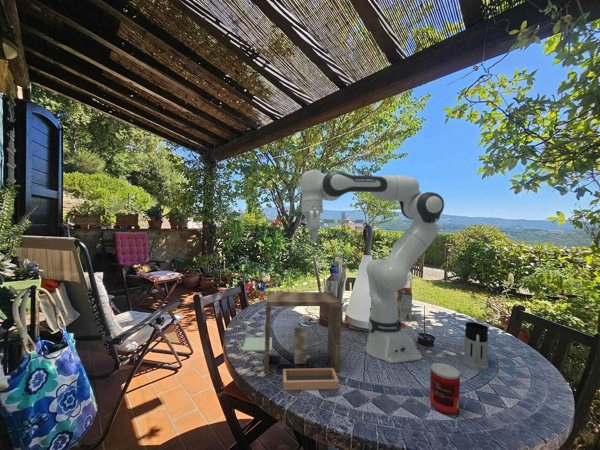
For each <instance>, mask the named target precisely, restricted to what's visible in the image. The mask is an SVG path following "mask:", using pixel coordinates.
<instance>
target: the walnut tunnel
mask: <svg viewBox="0 0 600 450" xmlns="http://www.w3.org/2000/svg"><path fill="white" fill-rule="evenodd" d="M265 302H266V304H265V305H266V307H265V308H266V309H265V331H264V332H265V335H264V338H265V351H264V365H263V366H264V367H263V369H264V370H263V375H269V370H270V368H269V367H270V351H269V345H270V338H271V315H272V314H271V313H272V309H271V308H272V307H328V328H327V330H328V331H327V333H328V334H327V356H328V357H327V358H328V359H329V360H330V364H331V366H332V368H334V370H335V373H336V374H338V373H340V360H341V359H340V358H341V353H340V352H341V329H342V327H341V325H342V301H341V299H339V297H338V296H337V295H336V294H335V293H334V292H332V291H331V292H325V291H324V292H320V291H318V292H317V291H312V292H311V291H307V292H306V291H267V293H266V301H265Z"/></svg>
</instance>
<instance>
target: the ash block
mask: <svg viewBox="0 0 600 450" xmlns="http://www.w3.org/2000/svg"><path fill="white" fill-rule="evenodd" d="M293 333H294V334H293V335H294V337H293V362H294V364H295V365H297V364H300V365H301V364H302V365H303V364H304V365H305V364H307V354H308V353H307V351H308V349H307V347H308V345H307V344H308V330H307V328H306V327H294V332H293Z"/></svg>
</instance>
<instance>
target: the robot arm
mask: <svg viewBox="0 0 600 450" xmlns="http://www.w3.org/2000/svg"><path fill="white" fill-rule="evenodd" d="M353 192H354V193H370V194H371V195H372V196H373V198H374V199H375V200H378V201H383V202H399V205H400V211H401V214H402V215H403V216H404V217H405V218H406V219H408V220H412V222H411V225H410V226H409V227H408V228H407V229H406V230H405V232H404V233H402V235H401V236H400V237H399V238H398V239H397V240H396V241H395V242H394V243H393V245H392V249H391V251H390V253H389V255H388V256H387V258H385V259H383V258H376V259H373V260H370V261H369V262H368V263H367V265H366V274H367V277H368V288H369V289H368V290H369V295H370V297H371V308H370V312H369V314H370V315H369V318H368V337H367V342H366V345H365V348H364V350H365V352H366V353H367V355H369V356H371V357H373V358H375V359H379V360H383V361H384V362H387V363H390V364H396V363H403V362H404V363H405V362H412V361H419V360H422V354H421V352H420V351H419V350H418V349H417V348H416V344H415V341H414V339H413V338H412V336H410V335H409V334H408V333H407V332H405V330H403V329H406V328H407V324H406V323H404V321H400V319H399V318H398V298H397V296H396V293H395V291H399V290H403V289H404V288H405V287H406V285H407V283H408V279H409V278H408V275H409V273H410V271H411V269H412V268H413V266H414V264H415V263H416V261H417V260H418V259H419V258H420V257H421V256H422V255H423V254H424V253H425V251H426V250H428V248H429V246H430V245H431V244H432V243H433V241H434V240H435V239H436V237H437V234H438V233H439V227H438V224H437V223H436V222H437V221H439V220H440V218H441V215H442V213H443V210H444V208H445V202H444V198H443V197H442V196H441V195H440V194H438V193H436V192H432V191H430V192H428V191H427V192H421V190H420V185H419V182H418V179H416V178H415V177H414V176H408V175H402V174H387V175H386V174H385V175H353V174H349V173H345V172H344V171H342V170H338V169H337V170H332V171H329V172H328V173H326V174H325V173H322V171H320V170H319V169H309V170H306V171H305V172H303V173H302V175H301V177H300V193H301V214H303V215H304V217H305V223H306V229H307V232H309V236H310V242H311V243H316V242H318V235H319V234H318V233H319V232H318V231H319V230H320V229H321V221H320V217H321V214H322V213H324V207H323V206H324V205H323V204H324V203H323V200H324V201H337V200H338V199H340V198H341V197H342V196H343V195H345V194H347V193H353Z"/></svg>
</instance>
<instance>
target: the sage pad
mask: <svg viewBox="0 0 600 450" xmlns="http://www.w3.org/2000/svg"><path fill="white" fill-rule="evenodd" d="M272 351H273V338H272V337H270V345H269V352H272ZM242 352H265V337H245V339H244V343H243V346H242Z"/></svg>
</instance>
